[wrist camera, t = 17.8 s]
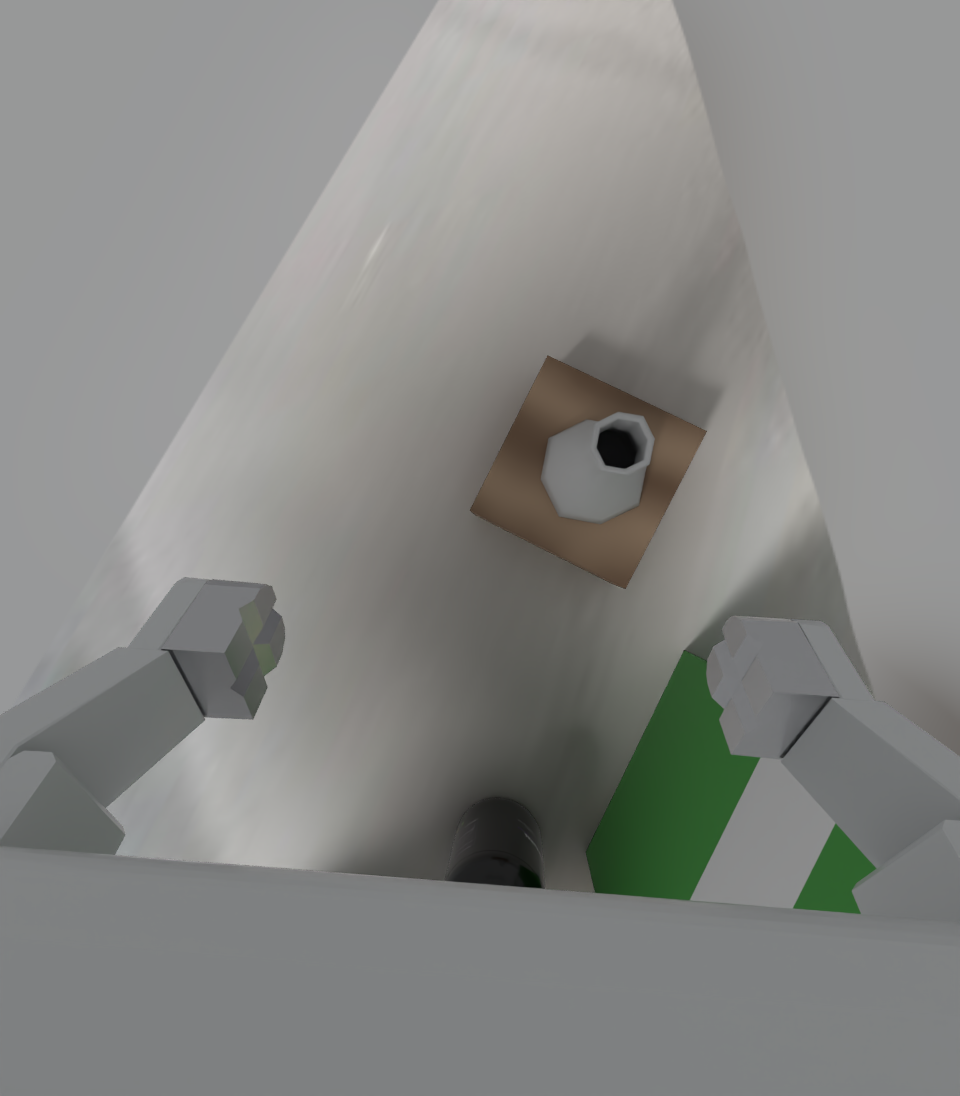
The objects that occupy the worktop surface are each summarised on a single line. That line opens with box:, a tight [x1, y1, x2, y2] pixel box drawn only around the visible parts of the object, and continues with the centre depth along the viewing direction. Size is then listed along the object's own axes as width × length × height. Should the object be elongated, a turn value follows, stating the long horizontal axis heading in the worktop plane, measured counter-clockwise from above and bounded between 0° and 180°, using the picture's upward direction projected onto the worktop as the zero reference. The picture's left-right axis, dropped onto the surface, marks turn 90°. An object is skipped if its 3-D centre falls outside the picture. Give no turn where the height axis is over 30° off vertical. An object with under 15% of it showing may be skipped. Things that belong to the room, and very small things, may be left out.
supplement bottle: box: [445, 798, 546, 889], centre depth 35 cm, size 7×7×12 cm
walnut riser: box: [470, 356, 707, 589], centre depth 38 cm, size 12×12×5 cm
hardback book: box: [586, 650, 877, 914], centre depth 28 cm, size 18×7×24 cm, turn 155°
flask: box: [541, 412, 655, 524], centre depth 31 cm, size 7×7×10 cm
